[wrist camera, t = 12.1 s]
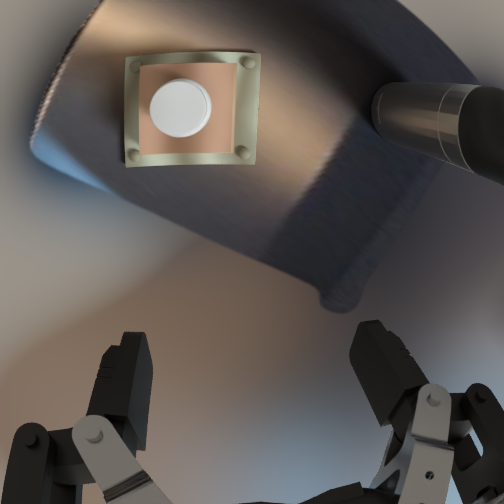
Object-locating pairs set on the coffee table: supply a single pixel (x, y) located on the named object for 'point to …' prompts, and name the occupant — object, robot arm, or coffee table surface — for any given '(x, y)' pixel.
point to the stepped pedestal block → (222, 115)
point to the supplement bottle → (180, 107)
